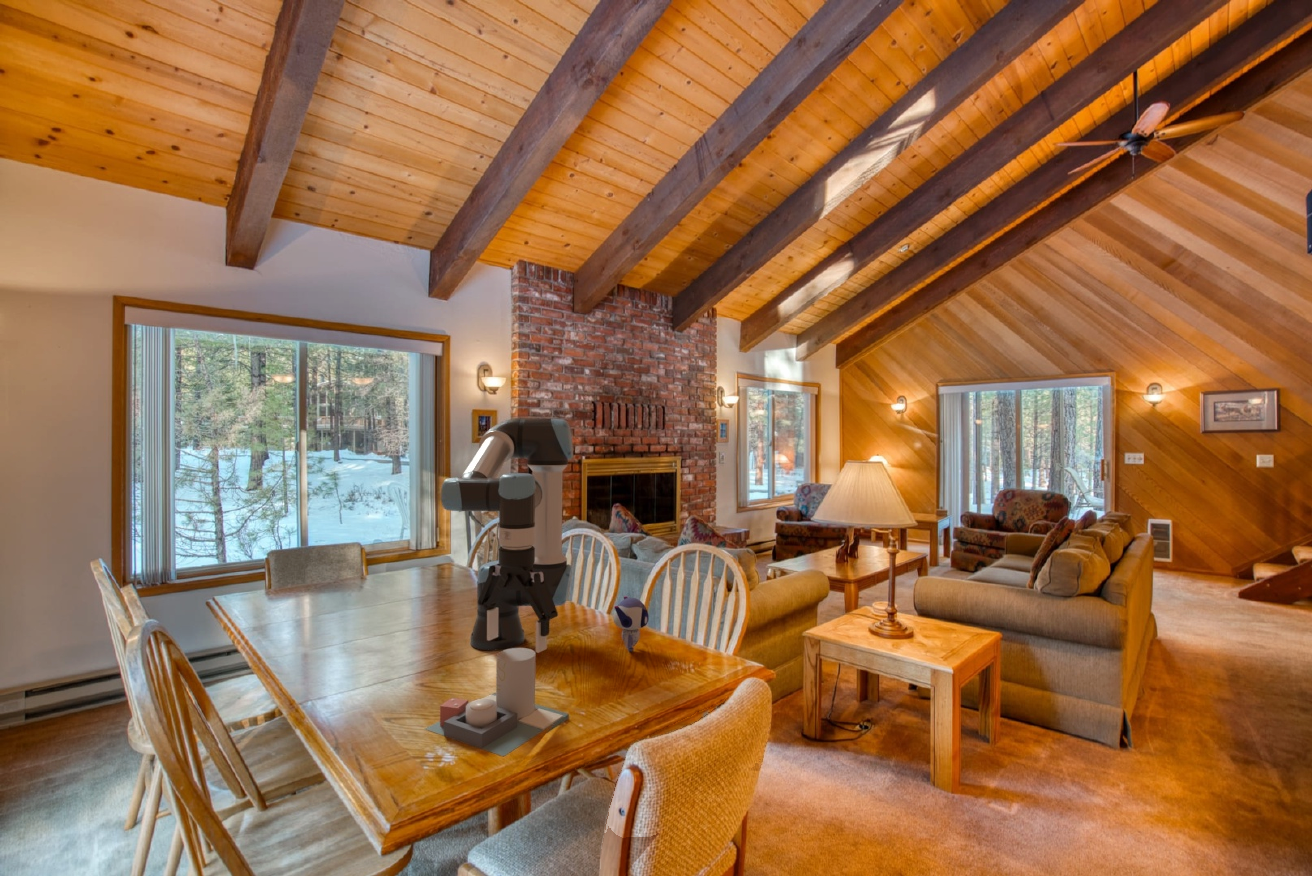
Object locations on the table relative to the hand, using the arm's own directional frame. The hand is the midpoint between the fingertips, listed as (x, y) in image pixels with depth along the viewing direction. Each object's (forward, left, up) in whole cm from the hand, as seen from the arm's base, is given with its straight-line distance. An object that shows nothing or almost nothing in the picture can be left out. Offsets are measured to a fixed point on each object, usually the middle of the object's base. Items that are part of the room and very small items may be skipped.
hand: (516, 644), depth 133 cm
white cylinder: (0, 0, -14) cm, 14 cm away
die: (-7, -10, -14) cm, 19 cm away
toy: (+1, +46, -16) cm, 48 cm away
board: (0, -5, -15) cm, 16 cm away
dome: (0, -10, -13) cm, 17 cm away
